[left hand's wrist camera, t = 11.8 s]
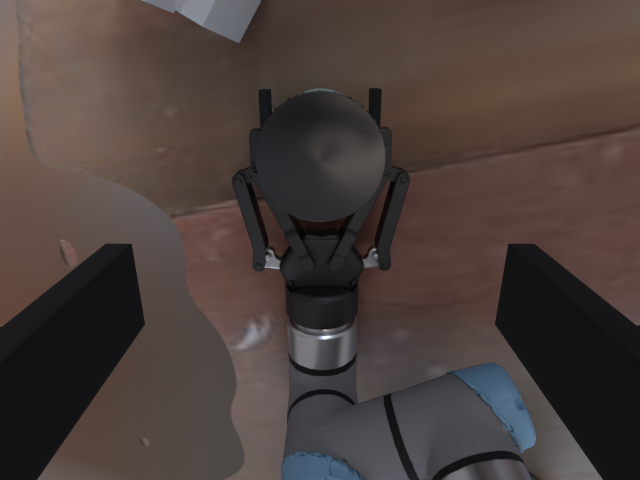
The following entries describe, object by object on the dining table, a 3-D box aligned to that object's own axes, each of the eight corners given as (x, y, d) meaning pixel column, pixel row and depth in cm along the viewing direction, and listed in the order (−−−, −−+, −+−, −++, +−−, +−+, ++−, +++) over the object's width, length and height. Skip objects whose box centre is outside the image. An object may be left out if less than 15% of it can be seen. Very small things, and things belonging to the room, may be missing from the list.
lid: (347, 64, 31) (348, 63, 29) (404, 181, 34) (408, 186, 32) (233, 130, 33) (229, 133, 31) (297, 236, 36) (296, 243, 34)
